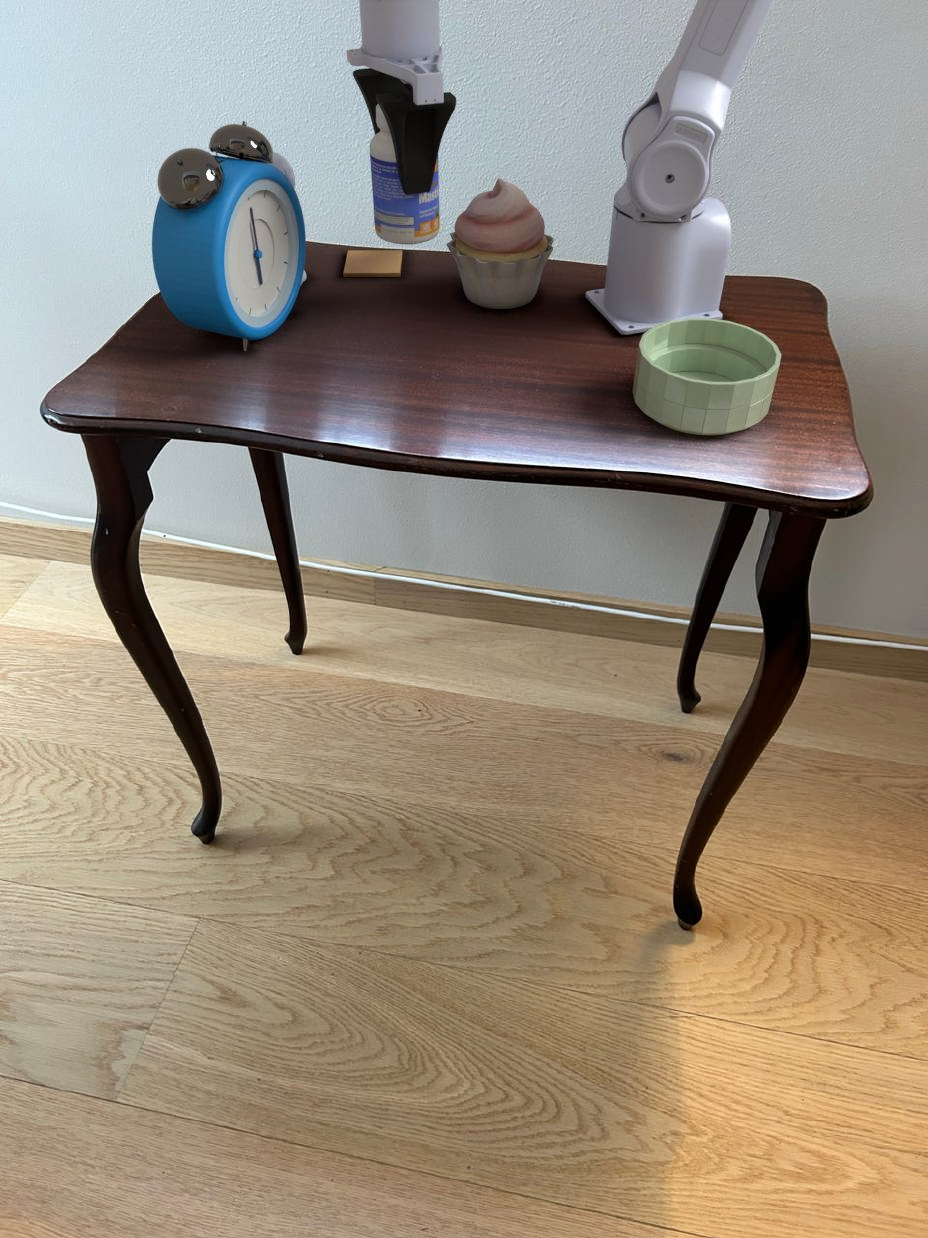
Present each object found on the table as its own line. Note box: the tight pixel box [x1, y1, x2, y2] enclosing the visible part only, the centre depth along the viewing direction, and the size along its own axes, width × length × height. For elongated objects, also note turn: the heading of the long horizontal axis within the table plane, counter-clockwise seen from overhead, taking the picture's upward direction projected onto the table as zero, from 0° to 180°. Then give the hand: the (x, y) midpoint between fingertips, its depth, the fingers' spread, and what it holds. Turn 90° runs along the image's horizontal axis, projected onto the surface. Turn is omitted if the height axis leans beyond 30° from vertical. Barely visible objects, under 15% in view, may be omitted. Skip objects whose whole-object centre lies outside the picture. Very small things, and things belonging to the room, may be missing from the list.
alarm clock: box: [151, 120, 307, 352], centre depth 75 cm, size 13×6×15 cm, turn 157°
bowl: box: [632, 318, 782, 436], centre depth 70 cm, size 10×10×4 cm
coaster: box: [342, 249, 403, 278], centre depth 90 cm, size 5×5×1 cm
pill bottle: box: [369, 104, 441, 245], centre depth 76 cm, size 5×5×10 cm
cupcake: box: [446, 177, 555, 310], centre depth 81 cm, size 9×9×10 cm
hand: (406, 179), depth 77 cm, fingers closed on pill bottle, 5 cm apart
